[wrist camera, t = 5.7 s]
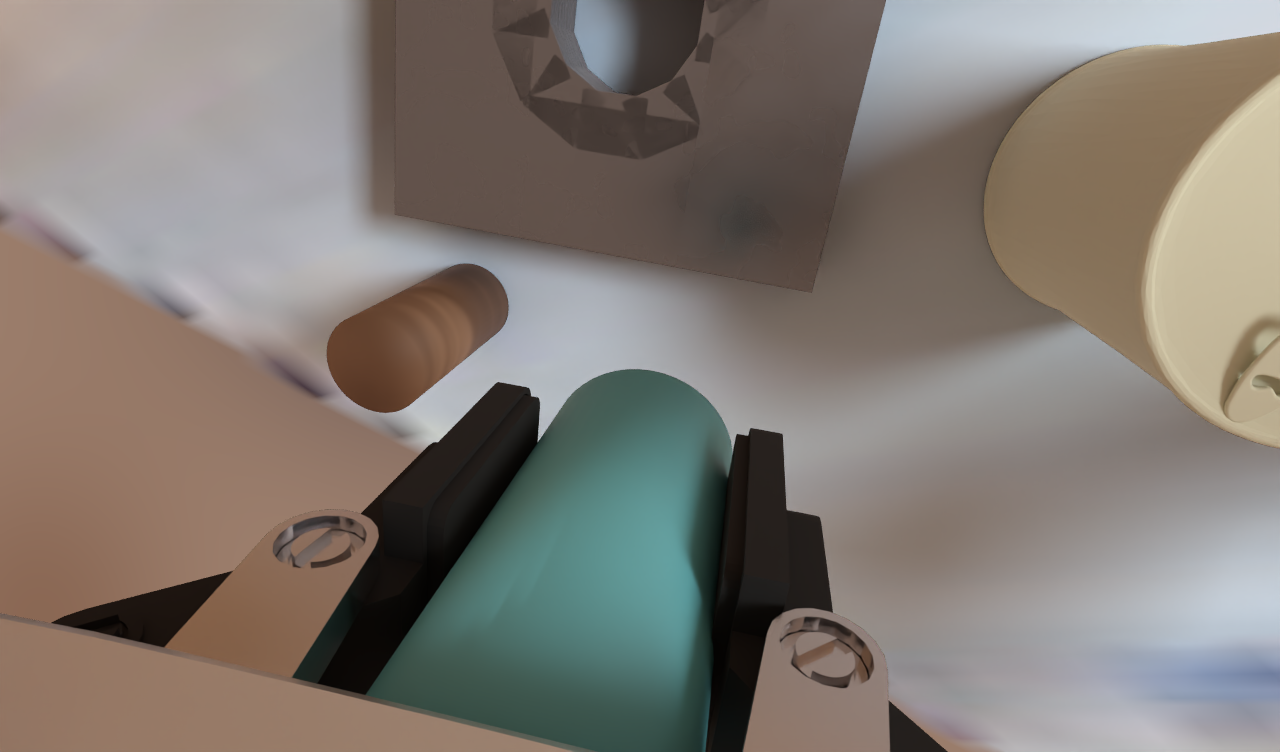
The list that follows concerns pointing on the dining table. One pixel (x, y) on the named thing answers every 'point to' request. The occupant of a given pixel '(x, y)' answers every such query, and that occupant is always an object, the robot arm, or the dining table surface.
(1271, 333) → the can
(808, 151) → the socket plate
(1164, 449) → the dining table surface
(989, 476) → the dining table surface
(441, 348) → the walnut peg
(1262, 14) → the dining table surface
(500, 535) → the teal peg
